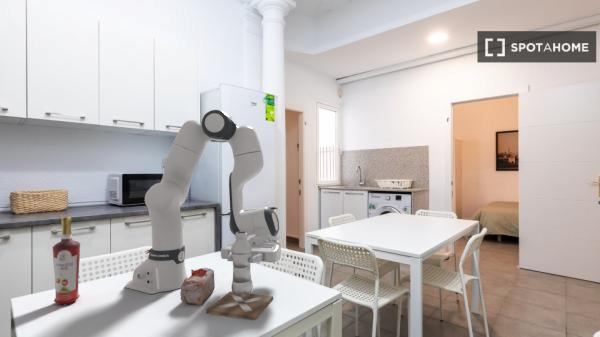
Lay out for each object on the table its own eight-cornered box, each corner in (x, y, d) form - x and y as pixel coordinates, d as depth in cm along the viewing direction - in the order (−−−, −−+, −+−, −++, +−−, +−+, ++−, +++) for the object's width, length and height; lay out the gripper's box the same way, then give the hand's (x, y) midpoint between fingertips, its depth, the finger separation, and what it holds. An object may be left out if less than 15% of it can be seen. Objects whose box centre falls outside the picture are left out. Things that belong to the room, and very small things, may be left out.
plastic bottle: (248, 300, 97) (247, 234, 97) (227, 298, 98) (227, 234, 98) (255, 292, 103) (255, 230, 103) (236, 290, 105) (235, 230, 105)
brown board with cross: (206, 313, 96) (206, 309, 96) (230, 294, 110) (230, 291, 110) (254, 319, 91) (254, 316, 91) (273, 299, 106) (273, 295, 106)
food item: (203, 307, 100) (202, 276, 100) (178, 306, 101) (178, 275, 101) (216, 290, 114) (216, 263, 114) (194, 290, 114) (194, 263, 114)
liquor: (50, 308, 100) (49, 220, 100) (56, 300, 106) (55, 216, 106) (78, 304, 103) (77, 218, 103) (82, 296, 109) (81, 215, 109)
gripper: (231, 238, 116) (211, 247, 103) (284, 241, 111) (269, 251, 97) (231, 255, 116) (211, 267, 103) (284, 259, 111) (270, 272, 97)
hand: (240, 259), depth 100 cm, fingers closed on plastic bottle, 6 cm apart
